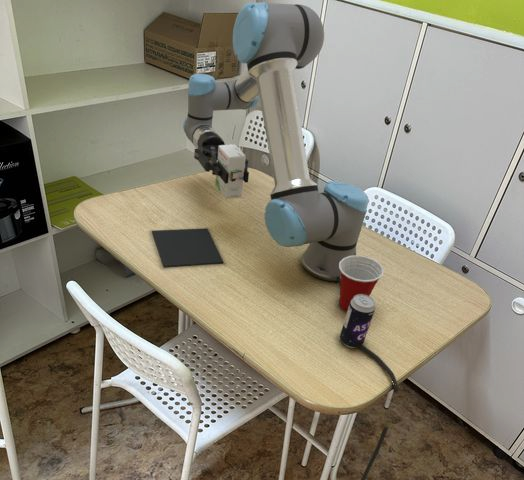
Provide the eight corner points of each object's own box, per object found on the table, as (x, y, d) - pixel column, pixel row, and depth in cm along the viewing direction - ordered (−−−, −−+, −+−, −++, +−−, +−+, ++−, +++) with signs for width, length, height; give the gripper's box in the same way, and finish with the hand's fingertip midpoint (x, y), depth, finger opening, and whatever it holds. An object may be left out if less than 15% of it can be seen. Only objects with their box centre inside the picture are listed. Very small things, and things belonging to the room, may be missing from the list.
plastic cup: (321, 297, 133) (331, 256, 126) (355, 291, 138) (367, 251, 130) (342, 322, 127) (355, 282, 119) (378, 315, 131) (393, 275, 123)
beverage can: (346, 352, 118) (360, 310, 111) (334, 336, 122) (346, 294, 114) (367, 347, 121) (381, 306, 113) (354, 332, 124) (368, 291, 116)
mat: (223, 263, 139) (223, 261, 139) (163, 267, 134) (163, 265, 134) (207, 229, 151) (207, 228, 151) (151, 232, 146) (151, 230, 146)
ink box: (214, 185, 148) (217, 144, 140) (230, 184, 150) (234, 143, 142) (225, 199, 142) (229, 156, 134) (242, 198, 144) (246, 156, 136)
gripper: (236, 155, 159) (266, 189, 144) (179, 157, 153) (203, 193, 137) (239, 130, 154) (270, 163, 139) (179, 131, 148) (205, 165, 132)
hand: (237, 178), depth 138 cm, fingers closed on ink box, 5 cm apart
